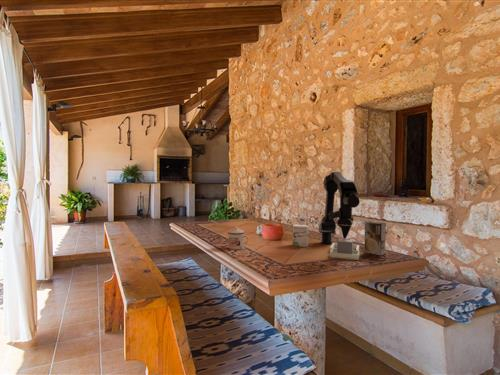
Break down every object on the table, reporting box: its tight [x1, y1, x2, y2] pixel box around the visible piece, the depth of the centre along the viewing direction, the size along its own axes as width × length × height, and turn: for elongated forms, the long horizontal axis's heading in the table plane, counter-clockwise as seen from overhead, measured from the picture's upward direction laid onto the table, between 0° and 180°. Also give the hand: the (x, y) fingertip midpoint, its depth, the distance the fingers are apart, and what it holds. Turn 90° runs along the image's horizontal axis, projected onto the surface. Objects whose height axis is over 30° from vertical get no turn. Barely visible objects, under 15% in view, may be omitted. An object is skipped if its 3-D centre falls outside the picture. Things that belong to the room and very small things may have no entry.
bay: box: [329, 242, 360, 252], centre depth 171 cm, size 14×14×2 cm
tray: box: [329, 248, 361, 261], centre depth 159 cm, size 10×14×2 cm
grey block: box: [336, 238, 354, 254], centre depth 159 cm, size 5×7×7 cm
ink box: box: [292, 224, 309, 248], centre depth 183 cm, size 8×5×12 cm, turn 76°
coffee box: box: [364, 221, 387, 256], centre depth 167 cm, size 9×6×16 cm
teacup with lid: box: [227, 226, 250, 250], centre depth 175 cm, size 12×9×12 cm
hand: (345, 237), depth 159 cm, fingers open, 9 cm apart
